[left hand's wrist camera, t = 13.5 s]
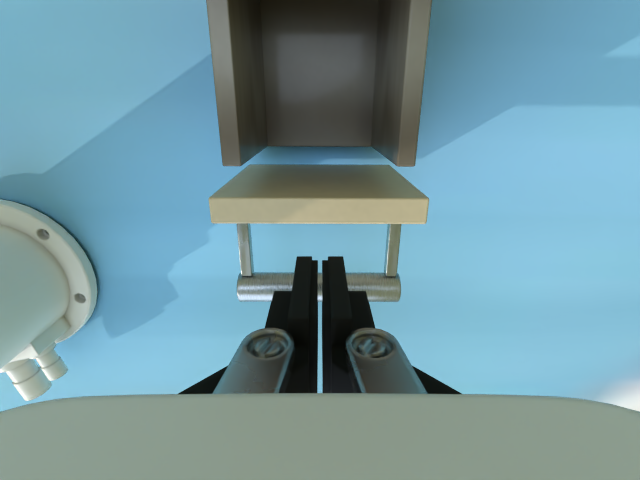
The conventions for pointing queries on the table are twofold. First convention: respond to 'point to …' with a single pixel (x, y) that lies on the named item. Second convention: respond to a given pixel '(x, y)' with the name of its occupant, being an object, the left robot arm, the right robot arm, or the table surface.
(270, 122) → the drawer
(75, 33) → the table surface
